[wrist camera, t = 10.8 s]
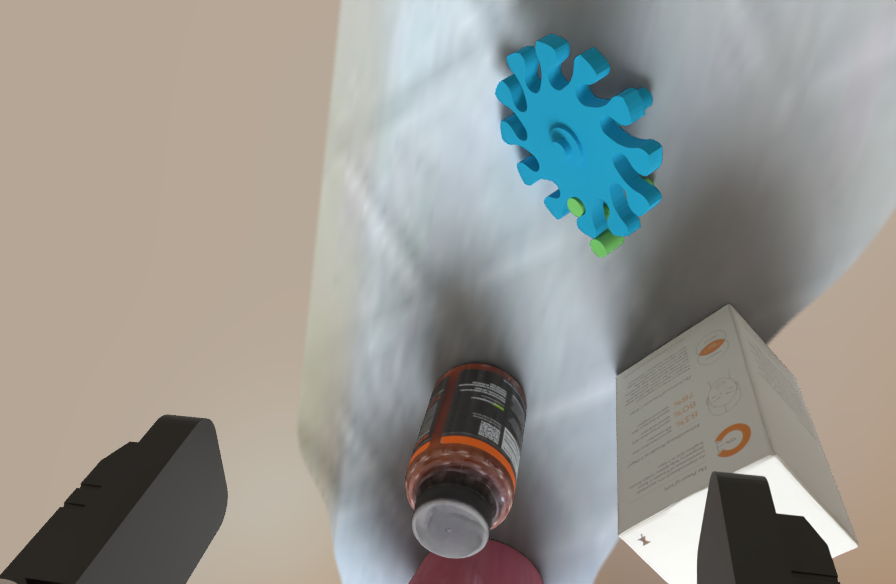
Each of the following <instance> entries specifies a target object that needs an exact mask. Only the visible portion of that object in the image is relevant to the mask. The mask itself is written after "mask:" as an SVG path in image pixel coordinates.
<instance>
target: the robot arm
mask: <svg viewBox="0 0 896 584" xmlns="http://www.w3.org/2000/svg"><path fill="white" fill-rule="evenodd" d="M227 499H228V491H227V485H226V480H225V475H224V470H223V465H222V460H221V455H220V450H219V445H218V440H217V435H216V430H215V427H214V424H213V423H212V421H211V420H210V419H206V418H196V417H186V416H176V415H164V416H162V417H160V418H159V419H158V420H157V421H156V422H155V423H154V425H153V426H152V427H151V428H150V429H149V431H148V432H147V433H146V434H145V435H144V437H143V438H142V439H141V440H140V442H138V443H137V442H129V443H127V444H126V445H124V446H123V447H121V448H120V449H118V450H116V451H115V452H114V453H112V454H111V455H109V456H107V457H106V458H104V459H103V460H101V461H100V462H99V463H98V465H97V466H96V467H95V468H94V469H93V470H92V471H91V472H90V474H89V475H88V476H87V477H86V478H85V479H84V481H83V482H82V483H81V487H80V488H76V490H75V491H74V492H73V493H72V494H71V495H70V496H69V498H68V499H67V500H66V501H65V502H64V507H60V508H59V509H58V510H57V511H56V512H55V514H54V515H53V516H52V517H51V518H50V519H49V520H48V522H47V523H46V524H45V525H44V526H43V527H42V528H41V529H40V530H39V532H38V533H37V534H36V535H35V536H34V537H33V538H32V540H31V541H30V542H29V543H28V544H27V545H26V546H25V548H24V549H23V550H22V551H21V552H20V553H19V555H17V557H16V558H15V559H14V560H13V561H12V562H11V563H10V565H9V566H8V567H7V568H6V569H5V570H4V571H3V573H2V574H1V575H0V584H186V582H187V581H188V579H189V577H190V576H191V574H192V572H193V571H194V569H195V568H196V566H197V564H198V562H199V561H200V559H201V558H202V556H203V554H204V553H205V551H206V549H207V548H208V546H209V544H210V543H211V541H212V539H213V538H214V536H215V535H216V533H217V531H218V530H219V528H220V526H221V524H222V521H223V519H224V516H225V512H226V507H227ZM837 578H838V575H837V572H836V569H835V566H834V563H833V560H832V557H831V554H830V550H829V547H828V545H827V543H826V542H825V541H824V540H823V539H822V538H821V536H820V535H819V534H818V533H817V532H816V530H815V529H814V528H813V527H812V526H811V524H810V523H809V522H808V521H807V520H806V519H805V517H804V516H796V515H787V514H778V513H776V510H775V506H774V503H773V499H772V495H771V491H770V487H769V483H768V481H767V479H766V477H764V476H757V475H747V474H737V473H727V472H717V471H713V472H712V474H711V477H710V481H709V486H708V492H707V498H706V504H705V510H704V515H703V521H702V527H701V533H700V539H699V545H698V553H697V584H840V582H838V580H837Z"/></svg>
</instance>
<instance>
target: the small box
mask: <svg viewBox="0 0 896 584" xmlns="http://www.w3.org/2000/svg"><path fill="white" fill-rule="evenodd" d="M616 431H617V493H618V536H619V537H620V538H621V539H622V540H624V541H625V542H626V543H627V544H628V545H629V546H630V547H631V548H632V549H633V550H634V551H635V552H636V553H637V554H638V555H639V556H640V557H641V558H642V559H643V560H644V561H645V562H646V563H647V564H648V565H650V566H651V567H652V568H653V569H654V570H655V571H656V572H657V573H658V574H659V575H660V576H661V577H662V578H663V579H664V580H665V581H666V582H667V583H668V584H697V553H698V545H699V539H700V533H701V527H702V521H703V515H704V510H705V504H706V498H707V492H708V486H709V481H710V477H711V474H712V472H713V471H717V472H727V473H737V474H747V475H757V476H764V477H766V479H767V481H768V483H769V487H770V491H771V495H772V499H773V503H774V506H775V510H776V513H778V514H787V515H796V516H804V517H805V519H806V520H807V521H808V522H809V523H810V524H811V526H812V527H813V528H814V529H815V530H816V532H817V533H818V534H819V535H820V536H821V538H822V539H823V540H824V541H825V542H826V543H827V545H828V547H829V550H830V554H831V557H832V558H834V557H836V556H839V555H841V554H843V553H845V552H847V551H850V550H852V549H855V548H857V547H858V546H859V545H858V541H857V538H856V535H855V532H854V530H853V527H852V524H851V522H850V519H849V516H848V514H847V511H846V509H845V506H844V503H843V501H842V498H841V496H840V493H839V490H838V488H837V485H836V482H835V480H834V477H833V475H832V472H831V469H830V467H829V464H828V461H827V459H826V456H825V453H824V451H823V448H822V446H821V443H820V440H819V438H818V435H817V432H816V430H815V427H814V425H813V422H812V419H811V417H810V414H809V412H808V409H807V407H806V404H805V401H804V399H803V396H802V394H801V391H800V388H799V386H798V383H797V381H796V378H795V377H794V375H793V374H792V373H791V372H790V371H789V370H788V369H787V368H786V367H785V365H784V364H783V363H782V362H781V361H780V360H779V359H778V358H777V356H776V355H775V354H774V353H773V352H772V351H771V350H770V348H769V347H768V346H767V345H766V344H765V343H764V342H763V341H762V339H761V338H760V337H759V336H758V335H757V334H756V333H755V332H754V330H753V329H752V328H751V327H750V326H749V325H748V324H747V322H746V321H745V320H744V319H743V318H742V317H741V316H740V314H739V313H738V312H737V311H736V310H735V309H734V308H733V307H732V306H731V305H730V304H727V305H726V306H724V307H723V308H721V309H720V310H718V311H716V312H715V313H713V314H712V315H710V316H709V317H707V318H705V319H704V320H702V321H701V322H699V323H698V324H696V325H695V326H693V327H691V328H690V329H688V330H687V331H685V332H684V333H682V334H681V335H679V336H678V337H676V338H674V339H673V340H671V341H670V342H668V343H667V344H665V345H664V346H662V347H660V348H659V349H657V350H656V351H654V352H653V353H651V354H650V355H648V356H647V357H645V358H644V359H642V360H641V361H639V362H638V363H636V364H634V365H633V366H631V367H630V368H628V369H627V370H625V371H624V372H622V373H621V374H619V375H618V376H616Z"/></svg>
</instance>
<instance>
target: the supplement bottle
mask: <svg viewBox="0 0 896 584" xmlns="http://www.w3.org/2000/svg"><path fill="white" fill-rule="evenodd" d="M526 409H527V406H526V399H525V395H524V393H523V390H522V388H521V387H520V385H519V384H518V383H517V381H516V380H515V379H514V378H513V377H511V376H510V375H509V374H508V373H506V372H505V371H503V370H501V369H499V368H497V367H494V366H491V365H487V364H481V363H471V364H464V365H461V366H458V367H455V368H453V369H451V370H449V371H448V372H446V373H445V374H444V375H443V376H442V377H441V378H440V380H439V381H438V382H437V384H436V386H435V389H434V391H433V393H432V396H431V399H430V402H429V405H428V408H427V411H426V414H425V417H424V420H423V423H422V426H421V429H420V432H419V435H418V438H417V442H416V445H415V448H414V451H413V454H412V457H411V460H410V463H409V466H408V469H407V473H406V478H405V490H406V495H407V498H408V501H409V503H410V506H411V507H412V509H413V510H414V513H413V516H412V522H411V523H412V530H413V533H414V535H415V537H416V539H417V540H418V541H419V543H420V544H421V545H422V546H423V547H425V548H426V549H427V550H429V551H430V552H432V553H435V554H437V555H439V556H442V557H446V558H465V557H470V556H472V555H474V554H477V553H478V552H479V551H481V550H482V549H483V548H484V547H485V545H486V543H487V541H488V538H489V534H490V530H492V529H493V528H495V527H497V526H498V525H499V524H500V523H502V521H504V519H505V518H506V516H507V515H508V513H509V512H510V509H511V507H512V504H513V501H514V495H515V488H516V482H517V475H518V468H519V461H520V454H521V447H522V441H523V433H524V427H525V420H526Z"/></svg>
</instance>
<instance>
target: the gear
mask: <svg viewBox="0 0 896 584" xmlns="http://www.w3.org/2000/svg"><path fill="white" fill-rule="evenodd" d="M569 54H570V46H569V43H568V42H567V41H566V40H565V39H563V38H562V37H560V36H557V35H553V34H549V35H547V36H545V37H543V38H542V39H540V40H538V41H537V42H536V45H535V48H534V47H533V46H526V47H523V48H522V49H520V50H518V51H516V52H514V53H512V54H511V55H509V56H507V57H506V58H507V63H508V66H509V68H510V69H511V71H512V72H513V73H514V74H513V75H511V76H509V77H507V78H506V79H504V80H502V81H501V82H499V84H498V86H497V88H496V92H495V94H496V97H497V98H498V100H499V101H500V102H501V103H502V104H504V105H506V106H507V107H509V108H510V109H511V110H512V111H513V112H514V113H515V114H513V115H511V116H509V117H508V118H506V119H504V120H502V121H501V135H502V139H503V140H504V141H505V142H506V143H507V144H510V145H513V144H514V145H519V146H521V147H523V148H525V149H526V150H528V151H529V152H530V153H531V154H532V155H533V156H529V157H527V158H526V159H524V160H523V161H521V162H519V163H518V164H517V168H518V171H519V173H520V176H521V178H522V180H523V182H524V183H525V184H526V185H532V184H533V183H535V182H536V181H538V180H540V179H547V180H550V181H553V182H554V183H555V184H556V185H557V186H558V188H559V189H558V190H557V191H555V192H554V193H552V194H551V195H549V196H548V197H546V198H545V200H544V203H545V205H546V207H547V208H548V210H549V211H550V212H551V213H552V214H553V215H554V216H555V217H556V219H560V218H562V217H563V216H565V215H566V214H568V213H569V212H571V213H572V214H573V215H575V216H577V217H579V218H578V219H577V226H578V228H579V229H580V230H581V231H582V232H583V233H585V234H586V235H588V236H590V237H592V238H594V239H592V240H591V242H590V246H591V248H592V250H593V252H594V253H595V254H596V255H597V256H599V257H605V256H606V255H607V254H609V253H610V252H612V251H613V250H614V249H616V248H617V247H618V246H620V245H621V244H623V242H624V237H623V236H629V235H630V234H631V233H633V232H634V231H636V230H637V229H638V228H640V226H641V224H640V220H639V218H638V217H639V216H642V215H643V214H645V213H646V212H648V211H649V210H650V209H652V208H653V207H655V206H656V205H657V204H658V203H659V202H660V200H661V199H662V195H661V193H660V191H659V190H658V189H657V188H656V187H655V186H654V184H653V182H652V181H651V180H650V179H648V178H645V179H643V178H642V177H641V176H640V175H643V176H648V175H649V174H651V173H652V172H653V171H655V170H656V169H658V168H659V167H660V165H661V163H662V146H661V145H660V143H658V142H657V141H655V140H652V139H647V140H644V139H639V138H635V137H633V136H631V135H630V134H628V133H627V132H625V131H624V130H623V129H621V128H620V127H619V126H620V125H624V126H627V125H630V124H631V123H633V122H634V121H636V120H638V119H639V118H641V117H642V116H644V115H645V109H647V108H648V107H650V106H651V105H652V102H653V98H652V95H651V93H650V92H649V91H648V90H647V89H646V88H639V89H635V88H627V89H626V90H624V91H623V92H621V93H619V94H618V95H616V96H615V97H613V98H612V99H601V98H597V97H596V96H594V95H593V93H592V92H591V90H590V87H589V85H591V84H593V83H595V82H597V81H598V80H600V79H602V78H603V77H605V76H607V75H608V73H609V72H610V65H609V63H608V62H607V60H606V59H605V57H604V56H603V55H602V54H601V53H600V52H599V51H598V50H597V49H596V48H595V47H593V48H590V49H589V50H587V51H585V52H583V53H582V54H580V55H578V56H577V57H576V58H575V60H574V70H573V76H572V79H571V81H570V82H568V81H567V80H566V79H565V78H564V77H563V75H562V72H561V64H562V62H563V61H564V60H566V59H567V58H568V56H569ZM539 63H540V67H541V74H542V79H541V80H540V79H539V76H538V64H539ZM638 173H639V174H640V175H639V174H638Z"/></svg>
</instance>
